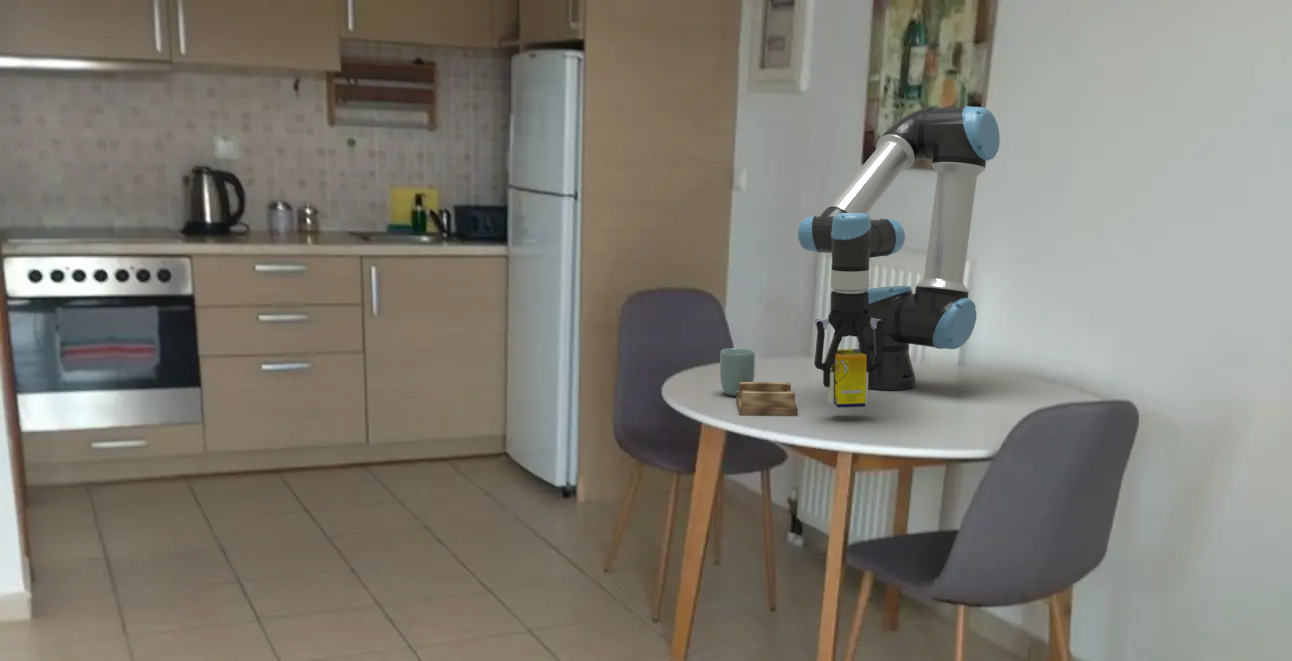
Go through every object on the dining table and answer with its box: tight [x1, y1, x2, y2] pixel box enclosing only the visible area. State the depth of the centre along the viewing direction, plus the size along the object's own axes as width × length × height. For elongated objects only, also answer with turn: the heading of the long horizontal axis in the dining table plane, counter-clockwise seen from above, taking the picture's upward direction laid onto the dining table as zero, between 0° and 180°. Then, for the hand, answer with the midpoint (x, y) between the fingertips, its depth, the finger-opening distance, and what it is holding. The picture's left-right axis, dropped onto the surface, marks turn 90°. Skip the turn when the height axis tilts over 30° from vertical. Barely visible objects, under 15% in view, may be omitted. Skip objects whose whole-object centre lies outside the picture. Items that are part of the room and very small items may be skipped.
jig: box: [735, 381, 799, 417], centre depth 232 cm, size 12×13×4 cm
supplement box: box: [831, 348, 867, 409], centre depth 222 cm, size 6×6×11 cm
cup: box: [719, 347, 756, 397], centre depth 245 cm, size 8×8×10 cm
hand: (847, 401), depth 223 cm, fingers closed on supplement box, 6 cm apart
